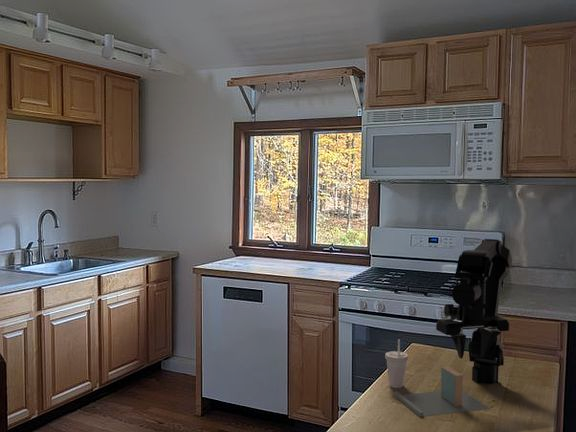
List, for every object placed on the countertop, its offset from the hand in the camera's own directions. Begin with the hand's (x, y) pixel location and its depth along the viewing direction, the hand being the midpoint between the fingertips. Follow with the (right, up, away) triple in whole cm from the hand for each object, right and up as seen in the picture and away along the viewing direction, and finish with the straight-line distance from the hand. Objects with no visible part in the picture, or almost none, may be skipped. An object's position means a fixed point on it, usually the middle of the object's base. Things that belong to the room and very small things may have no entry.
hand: (471, 357), depth 153 cm
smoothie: (-18, -11, +10) cm, 24 cm away
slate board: (-9, -12, -2) cm, 15 cm away
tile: (-6, -11, -1) cm, 13 cm away
